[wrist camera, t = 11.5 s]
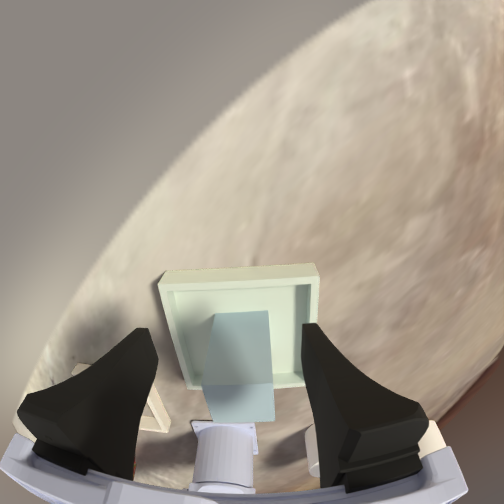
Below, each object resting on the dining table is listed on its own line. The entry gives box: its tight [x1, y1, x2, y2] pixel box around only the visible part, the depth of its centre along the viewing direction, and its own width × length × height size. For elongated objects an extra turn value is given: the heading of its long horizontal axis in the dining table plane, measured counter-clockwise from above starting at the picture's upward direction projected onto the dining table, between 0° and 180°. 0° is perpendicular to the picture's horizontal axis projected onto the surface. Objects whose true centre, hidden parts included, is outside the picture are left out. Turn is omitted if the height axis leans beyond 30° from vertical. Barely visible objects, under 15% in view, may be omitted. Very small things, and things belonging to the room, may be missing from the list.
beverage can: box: [418, 420, 446, 459], centre depth 29 cm, size 8×8×12 cm
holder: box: [71, 363, 171, 433], centre depth 29 cm, size 10×10×2 cm
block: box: [201, 310, 275, 423], centre depth 20 cm, size 4×4×8 cm
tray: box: [158, 263, 320, 390], centre depth 24 cm, size 12×12×2 cm
